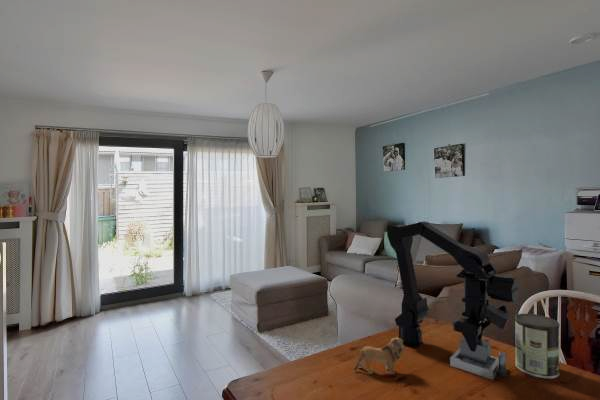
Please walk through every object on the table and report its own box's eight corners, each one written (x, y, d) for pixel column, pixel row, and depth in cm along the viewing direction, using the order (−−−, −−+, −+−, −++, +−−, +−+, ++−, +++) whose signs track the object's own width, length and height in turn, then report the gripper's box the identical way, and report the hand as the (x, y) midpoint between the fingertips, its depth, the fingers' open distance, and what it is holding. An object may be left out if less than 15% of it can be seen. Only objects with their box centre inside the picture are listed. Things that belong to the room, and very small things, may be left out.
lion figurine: (400, 364, 98) (400, 333, 98) (407, 373, 93) (407, 341, 93) (351, 367, 97) (350, 336, 97) (356, 377, 91) (355, 344, 91)
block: (459, 356, 97) (460, 339, 97) (464, 351, 100) (464, 334, 100) (486, 365, 92) (487, 347, 92) (490, 360, 95) (491, 343, 95)
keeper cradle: (450, 365, 97) (450, 345, 97) (460, 354, 103) (460, 335, 103) (502, 383, 88) (502, 360, 87) (510, 369, 94) (510, 348, 94)
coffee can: (547, 361, 98) (547, 314, 98) (567, 380, 88) (567, 328, 88) (508, 358, 101) (508, 312, 100) (524, 377, 90) (524, 325, 90)
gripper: (498, 310, 83) (498, 371, 84) (515, 293, 97) (514, 346, 97) (452, 300, 91) (452, 356, 91) (473, 286, 105) (473, 335, 105)
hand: (475, 348), depth 96 cm, fingers closed on block, 4 cm apart
